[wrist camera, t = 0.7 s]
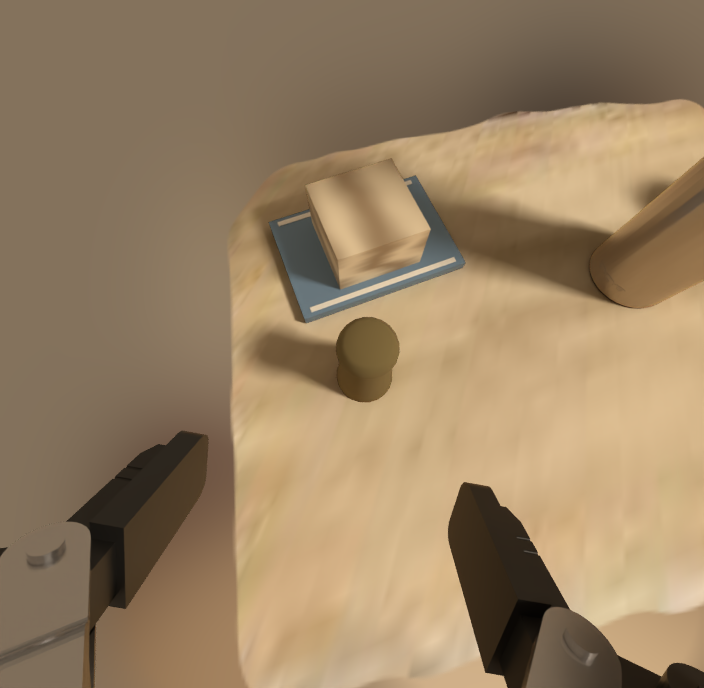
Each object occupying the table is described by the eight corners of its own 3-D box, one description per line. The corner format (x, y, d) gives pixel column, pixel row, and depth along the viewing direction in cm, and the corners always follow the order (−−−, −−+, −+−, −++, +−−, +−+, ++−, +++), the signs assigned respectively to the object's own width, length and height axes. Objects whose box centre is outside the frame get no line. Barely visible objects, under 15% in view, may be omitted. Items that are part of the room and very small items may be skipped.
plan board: (414, 182, 45) (415, 174, 43) (462, 267, 40) (465, 261, 39) (270, 228, 42) (268, 221, 41) (306, 323, 38) (304, 319, 37)
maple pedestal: (386, 198, 42) (391, 158, 37) (419, 261, 39) (430, 229, 34) (312, 222, 41) (305, 184, 36) (340, 289, 38) (337, 260, 33)
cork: (333, 351, 37) (325, 311, 27) (387, 344, 37) (399, 301, 27) (340, 406, 35) (334, 384, 25) (396, 398, 35) (414, 373, 25)
